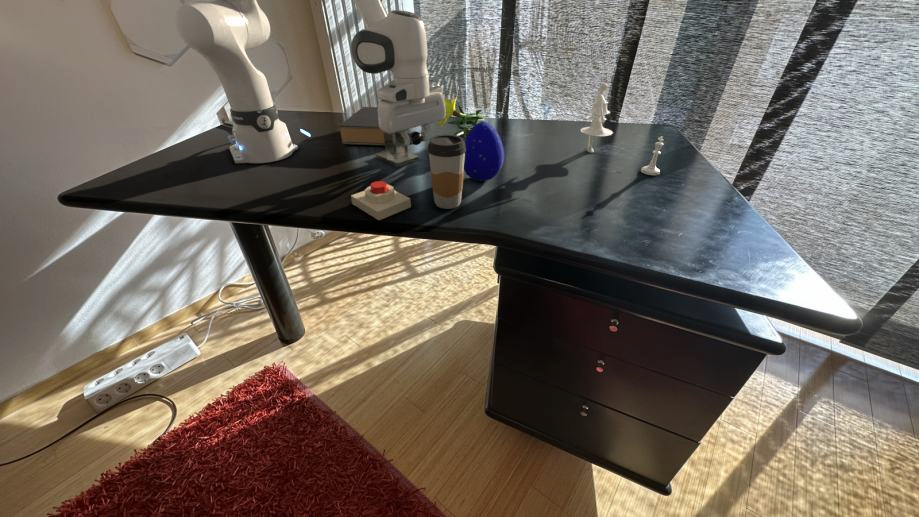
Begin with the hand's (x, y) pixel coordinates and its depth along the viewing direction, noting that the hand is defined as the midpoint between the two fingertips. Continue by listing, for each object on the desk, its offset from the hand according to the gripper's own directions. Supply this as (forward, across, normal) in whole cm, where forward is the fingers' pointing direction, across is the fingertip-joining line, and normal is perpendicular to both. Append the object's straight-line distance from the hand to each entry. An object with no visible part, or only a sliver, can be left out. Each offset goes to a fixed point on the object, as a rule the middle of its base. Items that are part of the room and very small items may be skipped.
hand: (415, 142), depth 99 cm
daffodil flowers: (+7, -26, -6) cm, 28 cm away
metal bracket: (+7, 0, -10) cm, 12 cm away
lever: (-1, 0, -5) cm, 5 cm away
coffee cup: (+8, +9, +22) cm, 25 cm away
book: (+7, -9, -33) cm, 35 cm away
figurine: (+8, -49, +28) cm, 57 cm away
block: (+7, +21, +12) cm, 25 cm away
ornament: (+8, -7, +18) cm, 21 cm away
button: (+4, +21, +12) cm, 25 cm away
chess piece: (+8, -45, +48) cm, 66 cm away
